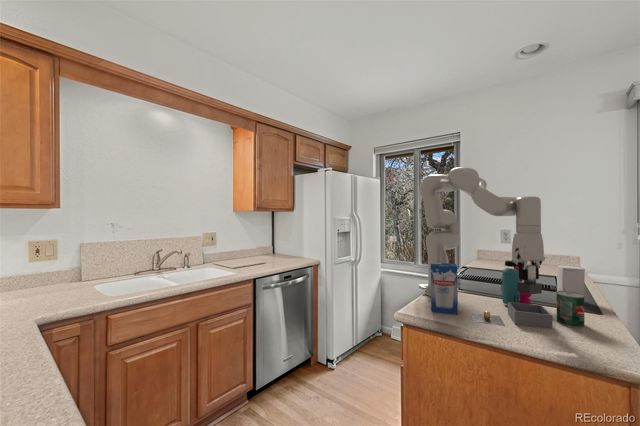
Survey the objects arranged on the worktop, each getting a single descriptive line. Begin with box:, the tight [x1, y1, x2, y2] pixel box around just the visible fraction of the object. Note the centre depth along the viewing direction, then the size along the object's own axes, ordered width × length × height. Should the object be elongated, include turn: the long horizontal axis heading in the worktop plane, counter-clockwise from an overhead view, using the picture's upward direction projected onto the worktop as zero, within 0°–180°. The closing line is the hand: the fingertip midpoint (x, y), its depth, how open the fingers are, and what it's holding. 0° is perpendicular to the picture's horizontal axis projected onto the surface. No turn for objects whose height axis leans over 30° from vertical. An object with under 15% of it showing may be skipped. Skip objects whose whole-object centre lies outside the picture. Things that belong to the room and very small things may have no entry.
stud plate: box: [470, 310, 506, 327], centre depth 109 cm, size 10×10×4 cm
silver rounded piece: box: [517, 263, 543, 295], centre depth 106 cm, size 5×5×10 cm
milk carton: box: [430, 263, 459, 315], centre depth 118 cm, size 10×6×20 cm, turn 70°
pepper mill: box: [513, 262, 533, 304], centre depth 130 cm, size 7×7×20 cm
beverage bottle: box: [501, 260, 520, 306], centre depth 124 cm, size 6×7×20 cm
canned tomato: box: [555, 290, 586, 329], centre depth 106 cm, size 8×8×11 cm
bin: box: [507, 302, 553, 330], centre depth 106 cm, size 11×11×6 cm
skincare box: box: [556, 264, 586, 296], centre depth 131 cm, size 8×7×16 cm
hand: (528, 278), depth 106 cm, fingers closed on silver rounded piece, 4 cm apart
